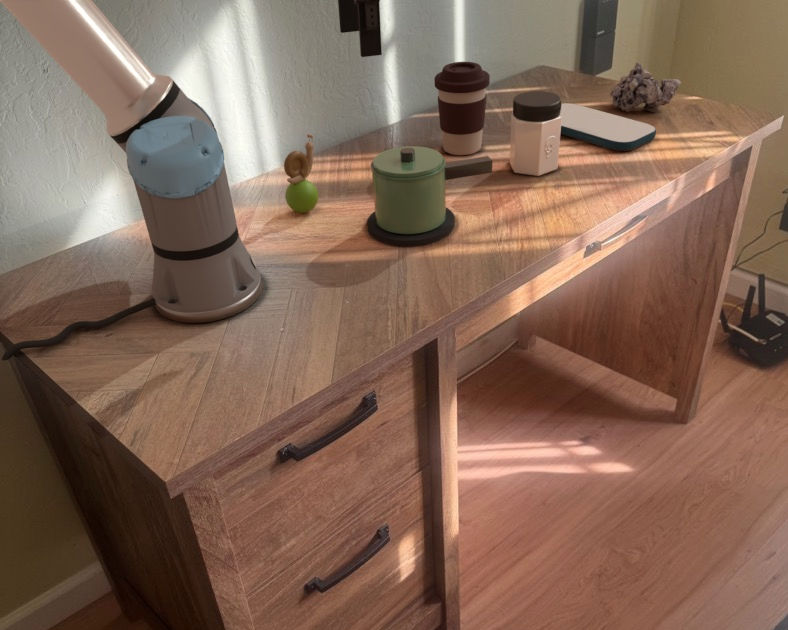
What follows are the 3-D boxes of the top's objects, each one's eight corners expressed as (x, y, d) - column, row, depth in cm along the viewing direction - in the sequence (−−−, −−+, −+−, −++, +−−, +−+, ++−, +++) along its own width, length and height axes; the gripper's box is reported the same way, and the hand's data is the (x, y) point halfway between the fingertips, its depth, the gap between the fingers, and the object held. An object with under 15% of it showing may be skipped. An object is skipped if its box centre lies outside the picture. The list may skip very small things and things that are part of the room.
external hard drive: (661, 138, 144) (663, 127, 143) (624, 156, 139) (625, 145, 137) (563, 110, 159) (564, 100, 157) (526, 125, 153) (526, 115, 152)
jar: (529, 180, 133) (533, 110, 125) (499, 166, 138) (501, 98, 131) (567, 166, 136) (573, 98, 129) (536, 153, 142) (540, 87, 134)
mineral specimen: (687, 92, 152) (664, 47, 148) (655, 119, 150) (631, 74, 147) (647, 106, 163) (625, 64, 160) (617, 131, 161) (594, 90, 158)
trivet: (379, 252, 116) (379, 247, 115) (358, 214, 126) (358, 208, 126) (466, 236, 118) (466, 231, 118) (439, 200, 129) (439, 195, 128)
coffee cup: (497, 143, 147) (499, 61, 137) (473, 162, 140) (473, 77, 131) (451, 136, 151) (451, 56, 142) (426, 154, 145) (424, 71, 135)
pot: (502, 218, 119) (504, 150, 112) (384, 240, 116) (379, 170, 109) (477, 190, 128) (477, 124, 121) (367, 209, 125) (361, 143, 118)
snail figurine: (331, 207, 129) (322, 137, 122) (302, 221, 126) (292, 150, 118) (309, 199, 132) (300, 130, 125) (281, 212, 129) (269, 142, 121)
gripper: (404, -138, 85) (409, 63, 98) (356, -150, 104) (365, 20, 117) (338, -134, 83) (352, 70, 97) (301, -147, 102) (317, 25, 116)
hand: (360, 43), depth 107 cm, fingers open, 13 cm apart
